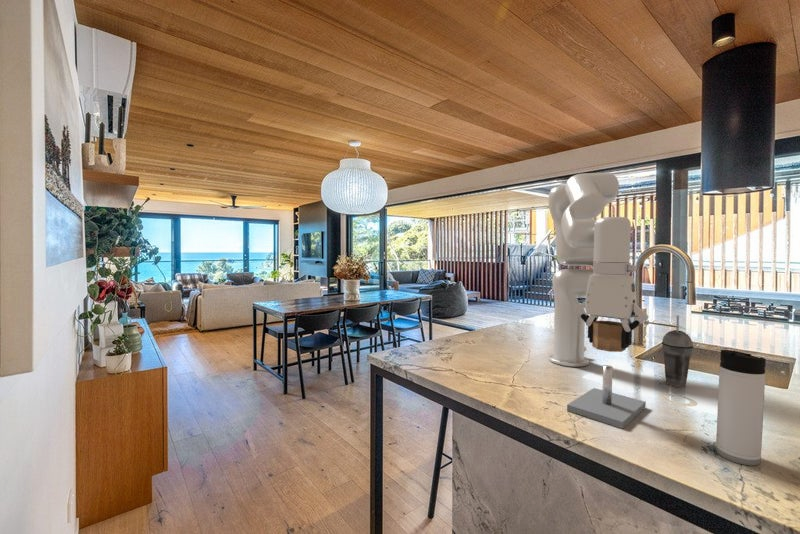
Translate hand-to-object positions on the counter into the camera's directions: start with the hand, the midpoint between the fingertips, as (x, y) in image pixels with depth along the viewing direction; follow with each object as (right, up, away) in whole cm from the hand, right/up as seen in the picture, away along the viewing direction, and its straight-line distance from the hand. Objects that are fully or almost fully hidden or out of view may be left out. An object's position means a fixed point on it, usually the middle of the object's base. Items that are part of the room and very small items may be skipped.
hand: (608, 344), depth 90 cm
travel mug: (+13, -17, -20) cm, 29 cm away
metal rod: (0, -14, +1) cm, 14 cm away
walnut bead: (0, -1, 0) cm, 1 cm away
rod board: (0, -16, +1) cm, 16 cm away
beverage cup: (+29, -15, +17) cm, 37 cm away
